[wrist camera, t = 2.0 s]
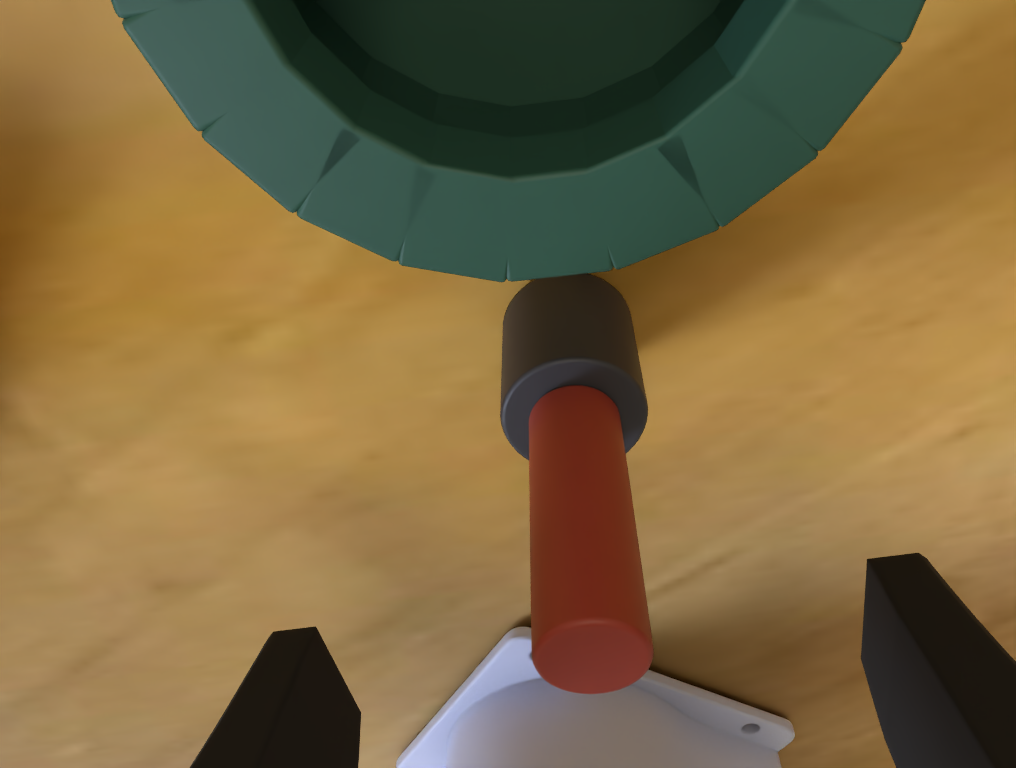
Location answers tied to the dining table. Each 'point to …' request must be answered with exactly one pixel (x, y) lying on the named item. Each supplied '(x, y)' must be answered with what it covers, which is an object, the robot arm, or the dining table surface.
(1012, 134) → the dining table surface
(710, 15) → the teal tube ring
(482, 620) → the dining table surface
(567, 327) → the red grey stepped cylinder
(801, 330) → the dining table surface
